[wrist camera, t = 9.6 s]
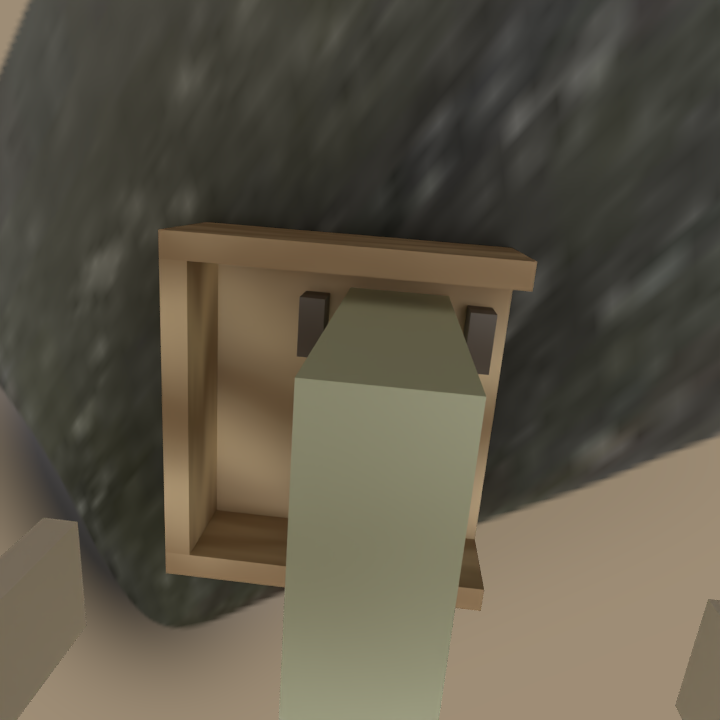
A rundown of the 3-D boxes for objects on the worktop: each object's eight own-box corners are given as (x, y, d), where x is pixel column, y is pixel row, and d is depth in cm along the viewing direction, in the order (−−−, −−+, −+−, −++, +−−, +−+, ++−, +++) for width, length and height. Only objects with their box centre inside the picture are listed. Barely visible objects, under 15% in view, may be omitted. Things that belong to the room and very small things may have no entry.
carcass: (206, 222, 25) (158, 229, 20) (512, 247, 24) (537, 261, 19) (206, 509, 29) (165, 572, 24) (468, 539, 28) (480, 611, 23)
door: (331, 285, 24) (257, 373, 12) (449, 296, 23) (486, 396, 12) (317, 502, 27) (247, 738, 15) (422, 513, 26) (432, 764, 15)
